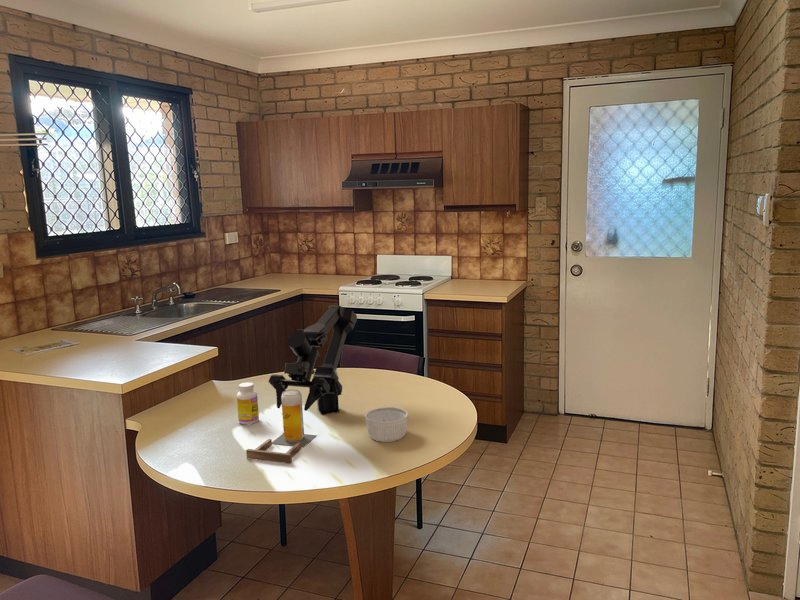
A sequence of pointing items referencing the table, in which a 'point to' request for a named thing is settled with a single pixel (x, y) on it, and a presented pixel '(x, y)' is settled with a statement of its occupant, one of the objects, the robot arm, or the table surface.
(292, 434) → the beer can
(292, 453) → the frame
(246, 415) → the supplement bottle
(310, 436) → the mat
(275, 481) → the table surface
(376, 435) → the ramekin
